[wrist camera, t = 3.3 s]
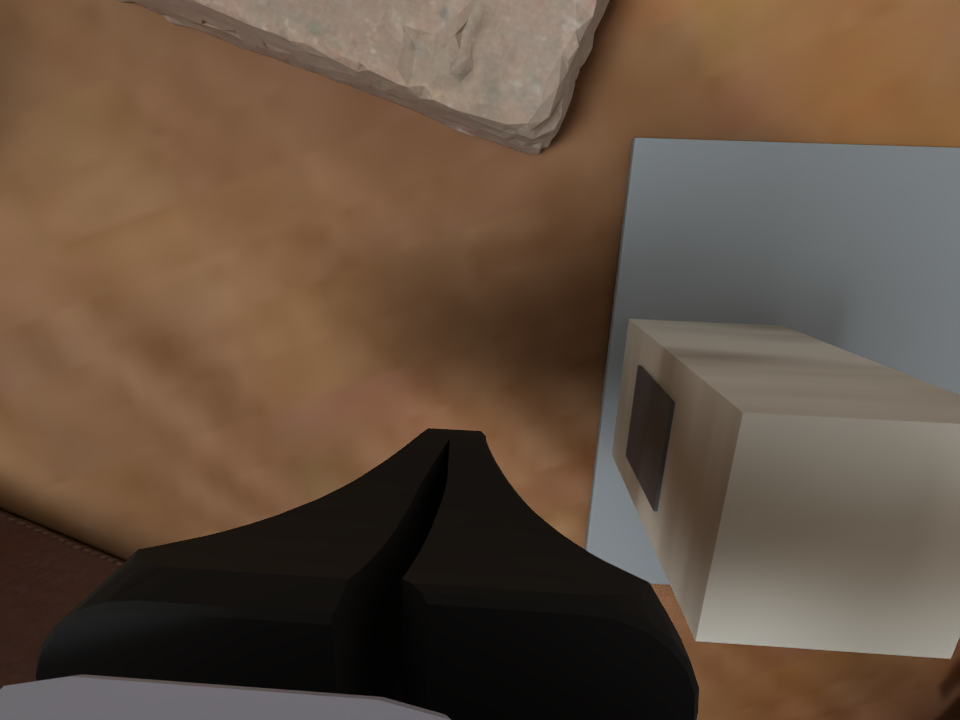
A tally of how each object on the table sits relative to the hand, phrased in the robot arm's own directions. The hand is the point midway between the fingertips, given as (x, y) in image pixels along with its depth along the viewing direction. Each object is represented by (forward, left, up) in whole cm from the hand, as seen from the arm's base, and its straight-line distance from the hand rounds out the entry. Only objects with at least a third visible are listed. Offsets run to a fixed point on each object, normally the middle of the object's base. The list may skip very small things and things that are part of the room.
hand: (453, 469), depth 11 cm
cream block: (0, -8, -6) cm, 10 cm away
